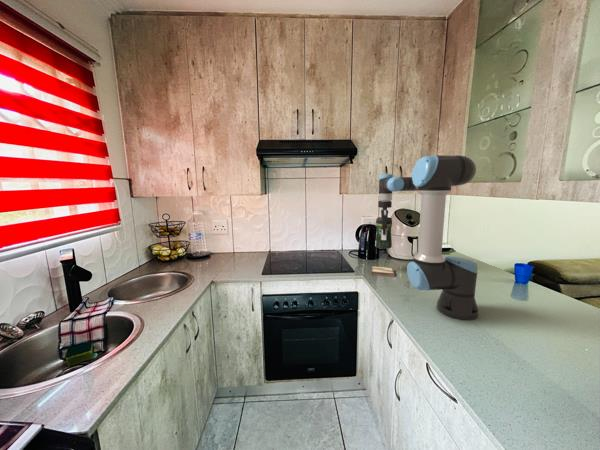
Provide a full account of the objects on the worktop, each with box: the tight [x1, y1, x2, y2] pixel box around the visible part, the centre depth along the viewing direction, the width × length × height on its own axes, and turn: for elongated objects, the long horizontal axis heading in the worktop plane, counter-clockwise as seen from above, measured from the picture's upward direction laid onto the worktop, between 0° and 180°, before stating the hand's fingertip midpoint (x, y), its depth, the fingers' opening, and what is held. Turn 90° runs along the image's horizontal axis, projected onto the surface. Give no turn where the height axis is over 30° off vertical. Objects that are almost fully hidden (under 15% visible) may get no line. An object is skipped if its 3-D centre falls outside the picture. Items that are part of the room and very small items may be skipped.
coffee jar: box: [374, 216, 393, 250], centre depth 151 cm, size 10×8×19 cm
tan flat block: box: [370, 265, 395, 278], centre depth 155 cm, size 11×13×2 cm
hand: (383, 238), depth 151 cm, fingers closed on coffee jar, 8 cm apart
